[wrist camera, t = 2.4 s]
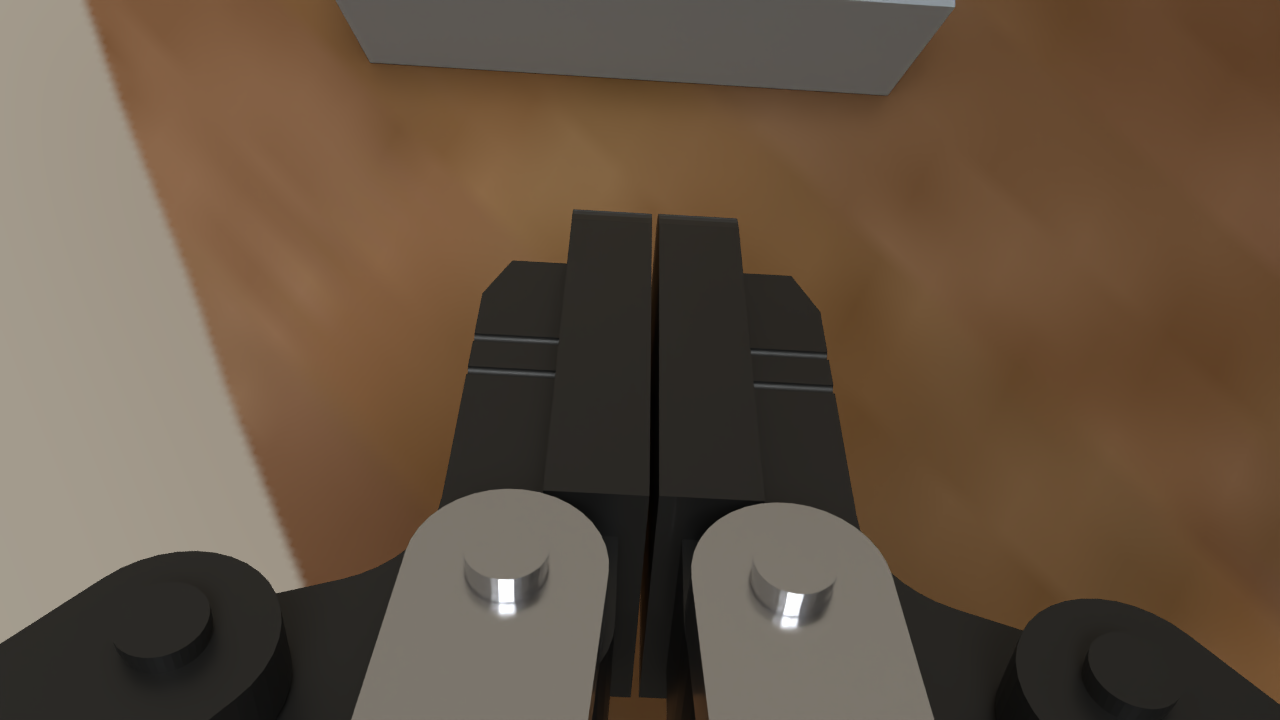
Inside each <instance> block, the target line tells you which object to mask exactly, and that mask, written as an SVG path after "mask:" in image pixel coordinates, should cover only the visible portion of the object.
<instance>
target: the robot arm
mask: <svg viewBox="0 0 1280 720" xmlns="http://www.w3.org/2000/svg"><path fill="white" fill-rule="evenodd" d="M651 259H652V214H643V213H626V212H609V211H591V210H574V209H573V214H572V223H571V233H570V242H569V251H568V261H567V264H563V263H545V262H528V261H512V262H511V263H510V264H509V265H508V266H507V267H506V268H505V269H504V270H503V272H502V273H501V274H500V275H499V276H498V277H497V278H496V279H495V280H494V281H493V283H492V284H491V285H490V286H489V287H488V288H487V289H486V290H485V291H484V292H483V294H482V298H481V304H480V309H479V314H478V319H477V324H476V329H475V338H474V341H473V344H472V349H471V354H470V359H469V364H468V374H466V379H465V384H464V389H463V394H462V399H461V404H460V409H459V414H458V419H457V424H456V429H455V434H454V439H453V444H452V449H451V455H450V460H449V465H448V470H447V475H446V480H445V485H444V490H443V495H442V499H441V502H440V505H439V508H438V511H437V512H435V513H434V514H432V515H431V516H430V517H429V518H428V519H427V520H426V521H425V522H424V523H423V524H422V525H421V526H420V527H419V528H418V530H417V531H416V532H415V534H414V535H413V537H412V538H411V540H410V542H409V545H408V547H407V549H406V550H405V551H403V552H402V553H400V554H399V555H398V556H396V557H395V558H393V559H391V560H390V561H388V562H386V563H384V564H382V565H380V566H379V567H376V568H374V569H371V570H369V571H366V572H364V573H362V574H359V575H355V576H352V577H348V578H344V579H341V580H336V581H332V582H327V583H322V584H318V585H313V586H309V587H304V588H299V589H295V590H290V591H286V592H281V593H275V591H274V590H273V588H272V586H271V585H270V583H269V582H268V581H267V580H266V578H265V577H264V576H263V575H262V574H261V573H259V571H257V570H256V569H254V568H253V567H251V566H250V565H248V564H247V563H245V562H242V561H240V560H238V559H235V558H233V557H230V556H226V555H222V554H218V553H212V552H200V551H188V552H174V553H168V554H162V555H157V556H154V557H151V558H147V559H143V560H140V561H137V562H135V563H132V564H130V565H128V566H125V567H123V568H120V569H119V570H117V571H115V572H113V573H111V574H110V575H108V576H106V577H104V578H103V579H101V580H100V581H98V582H97V583H95V584H93V585H92V586H90V587H89V588H87V589H85V590H84V591H82V592H81V593H79V594H78V595H76V596H75V597H73V598H72V599H70V600H68V601H67V602H65V603H63V604H62V605H60V606H59V607H57V608H56V609H54V610H53V611H51V612H49V613H48V614H46V615H45V616H43V617H42V618H40V619H39V620H37V621H36V622H34V623H32V624H31V625H29V626H28V627H26V628H24V629H23V630H21V631H20V632H18V633H17V634H15V635H14V636H12V637H10V638H9V639H7V640H6V641H4V642H2V643H1V644H0V720H608V712H609V699H610V696H613V697H631V687H632V676H633V666H634V655H635V644H636V634H637V623H638V612H639V602H640V657H639V697H647V698H667V720H1280V705H1279V704H1278V703H1277V702H1275V701H1274V700H1273V699H1272V698H1270V697H1269V696H1268V695H1266V694H1265V693H1264V692H1262V691H1261V690H1260V689H1258V688H1257V687H1256V686H1254V685H1253V684H1252V683H1251V682H1249V681H1248V680H1247V679H1245V678H1244V677H1243V676H1241V675H1240V674H1239V673H1237V672H1236V671H1235V670H1233V669H1232V668H1231V667H1230V666H1228V665H1227V664H1226V663H1224V662H1223V661H1222V660H1220V659H1219V658H1218V657H1216V656H1215V655H1214V654H1212V653H1211V652H1210V651H1209V650H1207V649H1206V648H1205V647H1203V646H1202V645H1201V644H1199V643H1198V642H1197V641H1195V640H1194V639H1193V638H1192V637H1190V636H1189V635H1188V634H1186V633H1185V632H1183V631H1182V630H1180V629H1179V628H1177V627H1176V626H1174V625H1173V624H1171V623H1170V622H1168V621H1166V620H1164V619H1162V618H1160V617H1158V616H1156V615H1155V614H1153V613H1150V612H1148V611H1145V610H1142V609H1140V608H1137V607H1135V606H1131V605H1128V604H1124V603H1120V602H1116V601H1109V600H1102V599H1077V600H1070V601H1064V602H1061V603H1058V604H1055V605H1052V606H1050V607H1048V608H1046V609H1045V610H1043V611H1041V612H1039V613H1038V614H1037V615H1036V616H1035V617H1034V618H1033V619H1032V620H1031V621H1029V622H1028V624H1027V626H1026V627H1025V629H1024V630H1023V631H1022V630H1019V629H1016V628H1013V627H1009V626H1006V625H1003V624H1000V623H997V622H994V621H991V620H988V619H984V618H981V617H978V616H975V615H972V614H969V613H966V612H963V611H959V610H956V609H953V608H951V607H948V606H946V605H943V604H940V603H938V602H935V601H933V600H931V599H929V598H927V597H925V596H924V595H922V594H920V593H918V592H916V591H915V590H913V589H912V588H910V587H909V586H907V585H906V584H904V583H903V582H901V581H900V580H899V579H898V578H897V577H895V576H894V575H893V574H892V573H891V572H890V570H889V567H888V565H887V562H886V561H885V559H884V558H883V556H882V554H881V553H880V551H879V550H878V549H877V547H876V546H875V545H874V544H873V543H872V542H871V541H870V540H869V538H868V537H866V536H865V535H864V534H863V533H862V532H861V531H860V527H859V524H858V520H857V516H856V511H855V505H854V499H853V494H852V488H851V483H850V477H849V471H848V466H847V460H846V455H845V449H844V443H843V438H842V432H841V426H840V421H839V415H838V410H837V404H836V398H835V394H833V381H832V376H831V370H830V365H829V360H827V348H826V342H825V336H824V331H823V325H822V320H821V314H820V311H819V310H818V309H817V308H816V306H815V305H814V304H813V303H812V301H811V300H810V299H809V298H808V296H807V295H806V294H805V293H804V291H803V290H802V289H801V288H800V286H799V285H798V284H797V283H796V281H795V280H794V279H793V278H792V277H791V276H780V275H763V274H745V273H743V268H742V257H741V247H740V237H739V227H738V221H737V219H734V218H717V217H700V216H683V215H665V214H658V219H657V227H656V238H655V250H654V262H653V274H652V286H651ZM640 591H641V592H640Z"/></svg>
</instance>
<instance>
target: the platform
mask: <svg viewBox="0 0 1280 720" xmlns="http://www.w3.org/2000/svg"><path fill="white" fill-rule="evenodd" d="M336 2H337V4H338V6H339V8H340V9H341V11H342V13H343V15H344V16H345V18H346V20H347V22H348V24H349V25H350V27H351V29H352V31H353V33H354V34H355V36H356V38H357V40H358V42H359V43H360V45H361V47H362V49H363V51H364V52H365V54H366V56H367V58H368V60H369V61H370V63H385V64H401V65H417V66H432V67H448V68H464V69H479V70H495V71H511V72H527V73H542V74H558V75H574V76H589V77H605V78H621V79H637V80H652V81H668V82H684V83H699V84H715V85H731V86H747V87H762V88H778V89H794V90H809V91H825V92H841V93H857V94H872V95H888V94H889V93H890V92H891V90H892V89H893V88H894V87H895V85H896V84H897V83H898V81H899V80H900V79H901V77H902V76H903V75H904V73H905V72H906V71H907V69H908V68H909V67H910V66H911V64H912V63H913V62H914V60H915V59H916V58H917V56H918V55H919V54H920V52H921V51H922V50H923V49H924V47H925V46H926V45H927V43H928V42H929V41H930V39H931V38H932V37H933V35H934V34H935V33H936V32H937V30H938V29H939V28H940V26H941V25H942V24H943V22H944V21H945V20H946V18H947V17H948V16H949V15H950V13H951V12H952V11H953V9H954V8H955V0H336Z"/></svg>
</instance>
